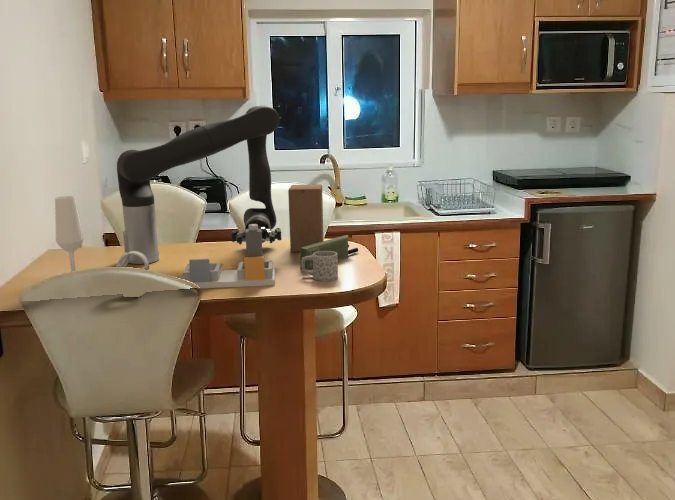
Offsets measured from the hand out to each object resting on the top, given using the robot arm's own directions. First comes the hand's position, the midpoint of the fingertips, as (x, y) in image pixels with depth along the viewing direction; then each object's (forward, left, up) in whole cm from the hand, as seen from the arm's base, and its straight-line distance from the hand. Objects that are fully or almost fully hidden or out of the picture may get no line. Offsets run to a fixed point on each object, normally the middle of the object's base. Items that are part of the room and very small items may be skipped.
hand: (255, 240), depth 187 cm
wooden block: (+15, +26, -9) cm, 32 cm away
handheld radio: (+22, +9, -9) cm, 25 cm away
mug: (+17, -9, -9) cm, 21 cm away
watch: (-30, -18, -9) cm, 36 cm away
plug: (0, -9, -7) cm, 12 cm away
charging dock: (-7, -9, -9) cm, 14 cm away
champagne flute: (-47, -10, -9) cm, 49 cm away
